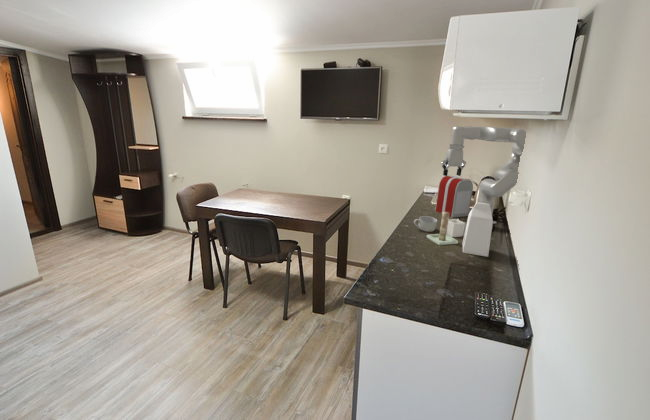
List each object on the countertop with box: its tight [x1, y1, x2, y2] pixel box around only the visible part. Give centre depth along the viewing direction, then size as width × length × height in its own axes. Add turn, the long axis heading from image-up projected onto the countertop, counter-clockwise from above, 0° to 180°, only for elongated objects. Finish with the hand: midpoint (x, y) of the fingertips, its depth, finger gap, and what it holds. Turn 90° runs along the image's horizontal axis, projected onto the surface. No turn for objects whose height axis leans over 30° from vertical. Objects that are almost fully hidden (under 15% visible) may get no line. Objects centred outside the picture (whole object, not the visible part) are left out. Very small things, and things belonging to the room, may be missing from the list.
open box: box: [446, 218, 466, 238], centre depth 192 cm, size 8×8×9 cm
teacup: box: [413, 215, 438, 233], centre depth 198 cm, size 14×11×8 cm
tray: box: [426, 233, 459, 246], centre depth 183 cm, size 12×12×2 cm
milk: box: [461, 202, 494, 258], centre depth 168 cm, size 12×12×26 cm
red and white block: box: [434, 174, 474, 219], centre depth 236 cm, size 16×18×27 cm
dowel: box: [438, 212, 450, 241], centre depth 181 cm, size 4×4×16 cm
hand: (451, 175), depth 200 cm, fingers open, 9 cm apart
